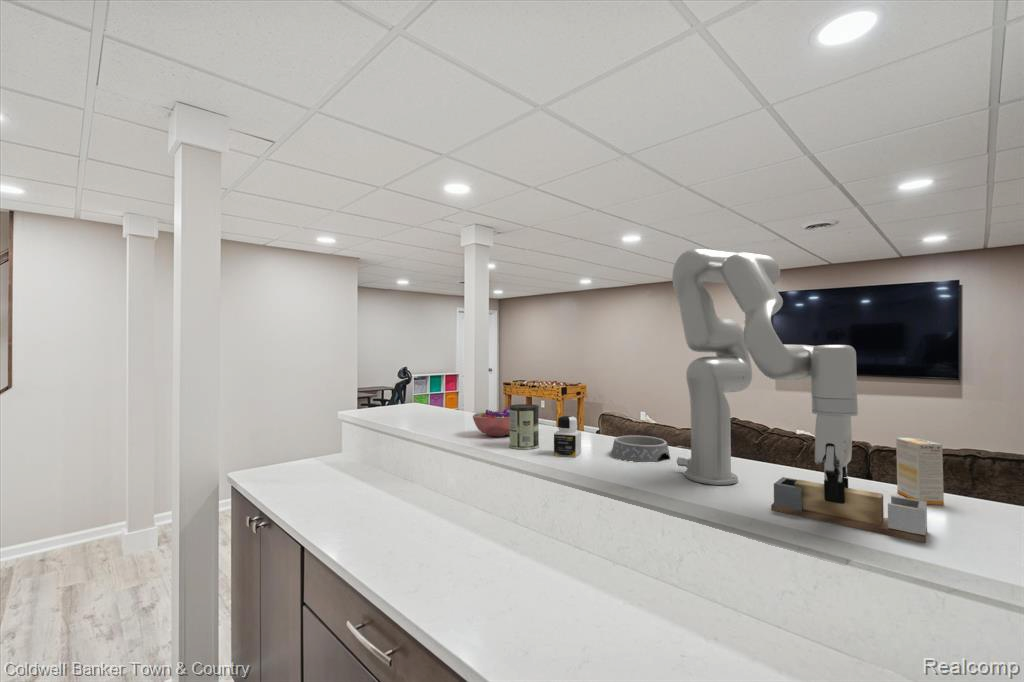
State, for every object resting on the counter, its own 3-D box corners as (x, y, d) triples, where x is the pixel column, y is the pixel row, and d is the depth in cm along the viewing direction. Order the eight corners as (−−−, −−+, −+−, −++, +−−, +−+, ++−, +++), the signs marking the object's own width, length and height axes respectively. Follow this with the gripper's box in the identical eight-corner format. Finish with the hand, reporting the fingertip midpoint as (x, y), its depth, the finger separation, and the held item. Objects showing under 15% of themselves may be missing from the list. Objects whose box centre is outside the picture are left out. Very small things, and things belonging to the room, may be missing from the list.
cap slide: (888, 527, 83) (887, 504, 83) (891, 517, 88) (891, 495, 88) (925, 535, 80) (924, 510, 80) (927, 524, 85) (926, 501, 85)
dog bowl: (681, 457, 145) (680, 440, 145) (645, 466, 133) (645, 448, 133) (635, 448, 158) (635, 432, 158) (600, 456, 147) (600, 439, 147)
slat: (794, 507, 95) (794, 482, 95) (798, 503, 97) (798, 479, 97) (881, 525, 85) (881, 498, 85) (883, 520, 88) (883, 493, 88)
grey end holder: (773, 505, 96) (773, 483, 96) (782, 497, 101) (782, 477, 101) (801, 511, 93) (801, 488, 93) (809, 502, 98) (809, 481, 98)
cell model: (471, 432, 187) (471, 404, 188) (520, 431, 190) (520, 403, 190) (472, 440, 171) (473, 409, 171) (526, 439, 173) (526, 409, 173)
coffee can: (527, 442, 167) (527, 403, 167) (544, 447, 158) (544, 406, 159) (503, 445, 161) (503, 405, 161) (520, 451, 153) (520, 408, 153)
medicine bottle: (553, 455, 146) (553, 417, 146) (559, 451, 153) (559, 414, 153) (575, 457, 143) (575, 418, 144) (581, 452, 150) (581, 415, 150)
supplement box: (945, 505, 99) (944, 444, 99) (919, 504, 100) (918, 443, 100) (919, 494, 107) (918, 437, 107) (896, 492, 108) (895, 436, 108)
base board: (771, 509, 96) (771, 504, 96) (780, 501, 101) (780, 497, 101) (925, 542, 80) (925, 537, 80) (927, 531, 85) (927, 526, 85)
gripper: (820, 402, 101) (822, 487, 100) (802, 408, 89) (804, 505, 88) (863, 404, 95) (866, 494, 95) (850, 412, 83) (853, 514, 83)
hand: (836, 498), depth 91 cm, fingers open, 3 cm apart
